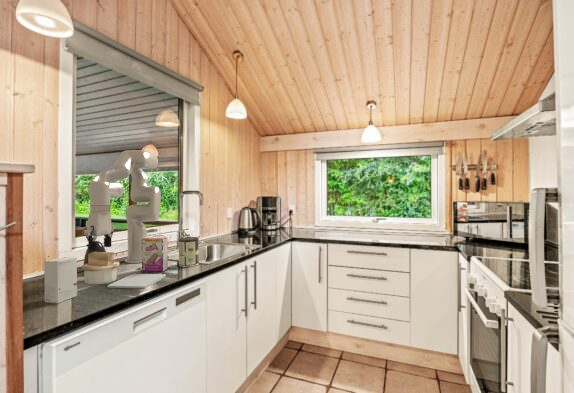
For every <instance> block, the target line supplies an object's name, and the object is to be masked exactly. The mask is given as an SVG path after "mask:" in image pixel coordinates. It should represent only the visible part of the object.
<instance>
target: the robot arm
mask: <svg viewBox="0 0 574 393" xmlns="http://www.w3.org/2000/svg"><path fill="white" fill-rule="evenodd" d="M158 165H159V159H158V157H157V155H155V153H152V152H150V151H148V150H147V151H146V150H143V149H140V150H139V149H127V150H126V149H125V150H124V151H122V152H121V153H120V154H119V155H118V157H117V159H116V161H115V162H114V163H113V165H112V166H110V167H107V168H106V169H104V170H102V171H100V172H98V173H96V174H95V175H94V177H93V178H92V179H91V181H90V183H89V184H88V187H87V188H88V189H87V191H88V194H89V197H90V198H89V205H90V206H89V212H88V213H89V214H88V216H87V224H86V230H85V231H84V235H85V238H86V240H87V242H88V243H87V244H88V247H87V248H88V250H89V251H96V241H97V238H98V237H101V236H103V246H104V248H111V247H112V238H113V234H114V230H115V227H114V226H112V217H111V216H112V215H111V199H116V198H117V199H118V198H121V197H122V196H123V195H124V193H125V187H124V185H123V184H122V183H120V182H118V181H121V180H124V179H127V178H128V177H129V176H131V185H130V200H131V202H133V203H143V204H131V205H129V206H127V207H126V208H125V210H124V211H125V218H126V224H127V258H125V259H124V262H125V264H142V238H144V237H148V236H147V234H148V233H147V232H148V231H147V227H146V225H145V224H144V222H146V223H147V222H156V221H158V220H159V219H160V215H161V214H160V213H161V201H162V193H161V189H160V188H159V186H157V185H149V177H148V175H147V173H146V172H145V171H144V170H154V169H156V168H157V167H158ZM144 203H149V204H144Z"/></svg>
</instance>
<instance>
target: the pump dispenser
mask: <svg viewBox="0 0 574 393" xmlns="http://www.w3.org/2000/svg"><path fill="white" fill-rule="evenodd" d="M95 241H96V251H89V250H88V243H87V244H86V248H87V249H86V251H85V252H84V253H85V254H84V258H83V265H85V264H88V254H89V253H92V252H107V250H106V249H105V248H106V247H104V243H102V242H101V241H99V240H95ZM83 265H82V266H83Z"/></svg>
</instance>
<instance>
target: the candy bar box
mask: <svg viewBox="0 0 574 393" xmlns="http://www.w3.org/2000/svg"><path fill="white" fill-rule="evenodd" d="M168 267H169V265H168V237H165V236H164V237H163V236H147V237H144V238H142V262H141V272H155V273H157V272H159V273H163V272H166V271H167V270H168V269H169V268H168Z"/></svg>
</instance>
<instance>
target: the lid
mask: <svg viewBox="0 0 574 393" xmlns="http://www.w3.org/2000/svg"><path fill="white" fill-rule="evenodd" d="M114 256H115V253H114V251H106V252H92V253H89V254H88V264H85V265H81V270H82V271H102V270H108V269H113V268H116V267H117V268H118V267H119V266H120V261H118V260H115V257H114Z"/></svg>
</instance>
